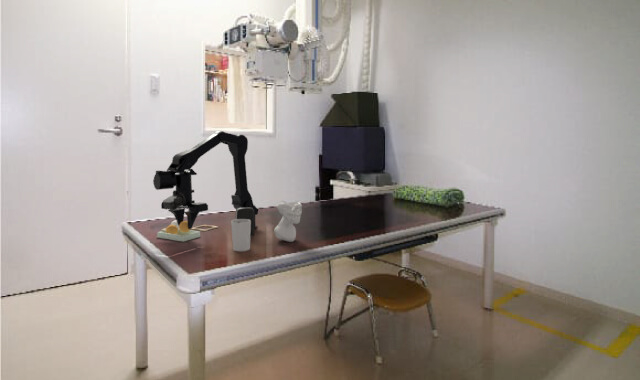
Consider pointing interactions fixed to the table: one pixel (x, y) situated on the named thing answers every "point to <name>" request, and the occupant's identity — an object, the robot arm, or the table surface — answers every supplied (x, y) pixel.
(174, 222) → the white ball
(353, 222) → the table surface
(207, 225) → the collar
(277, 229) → the white figurine
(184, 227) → the orange ball
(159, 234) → the green dish
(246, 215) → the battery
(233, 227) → the drinking glass
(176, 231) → the orange ball
